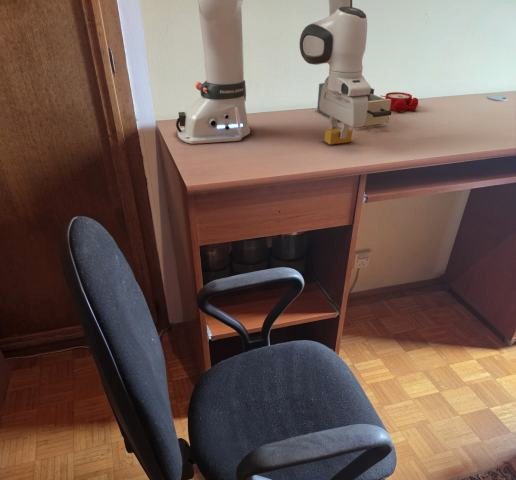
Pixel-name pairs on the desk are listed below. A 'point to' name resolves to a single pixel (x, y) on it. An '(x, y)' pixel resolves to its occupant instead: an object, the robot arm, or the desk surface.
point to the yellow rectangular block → (336, 136)
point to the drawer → (377, 110)
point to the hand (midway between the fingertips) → (338, 135)
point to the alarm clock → (401, 101)
